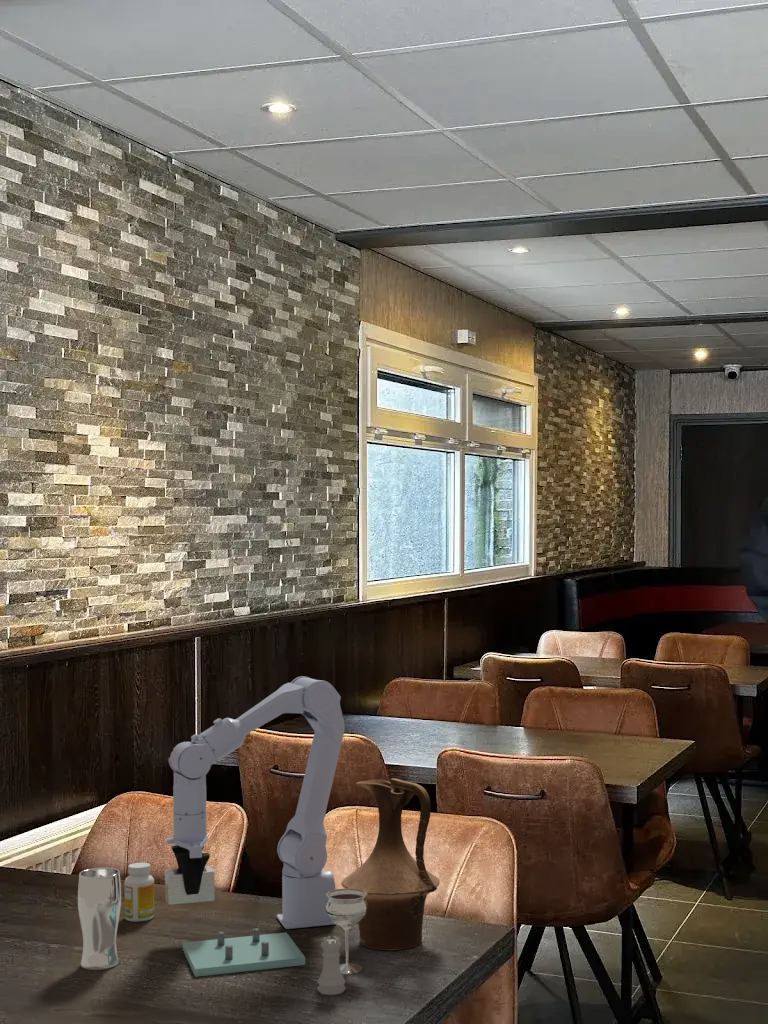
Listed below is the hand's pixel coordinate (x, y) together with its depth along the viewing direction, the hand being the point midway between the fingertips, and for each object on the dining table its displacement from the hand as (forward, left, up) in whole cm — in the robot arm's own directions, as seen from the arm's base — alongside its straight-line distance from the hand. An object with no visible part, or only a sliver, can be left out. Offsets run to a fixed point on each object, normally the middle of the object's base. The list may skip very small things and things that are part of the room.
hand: (190, 890), depth 219 cm
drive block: (0, 0, -2) cm, 2 cm away
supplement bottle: (+7, -15, -9) cm, 19 cm away
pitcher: (-33, +13, -9) cm, 36 cm away
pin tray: (-7, +13, -8) cm, 17 cm away
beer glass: (+16, +9, -9) cm, 20 cm away
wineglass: (-22, +24, -9) cm, 33 cm away
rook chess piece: (-17, +33, -9) cm, 38 cm away
